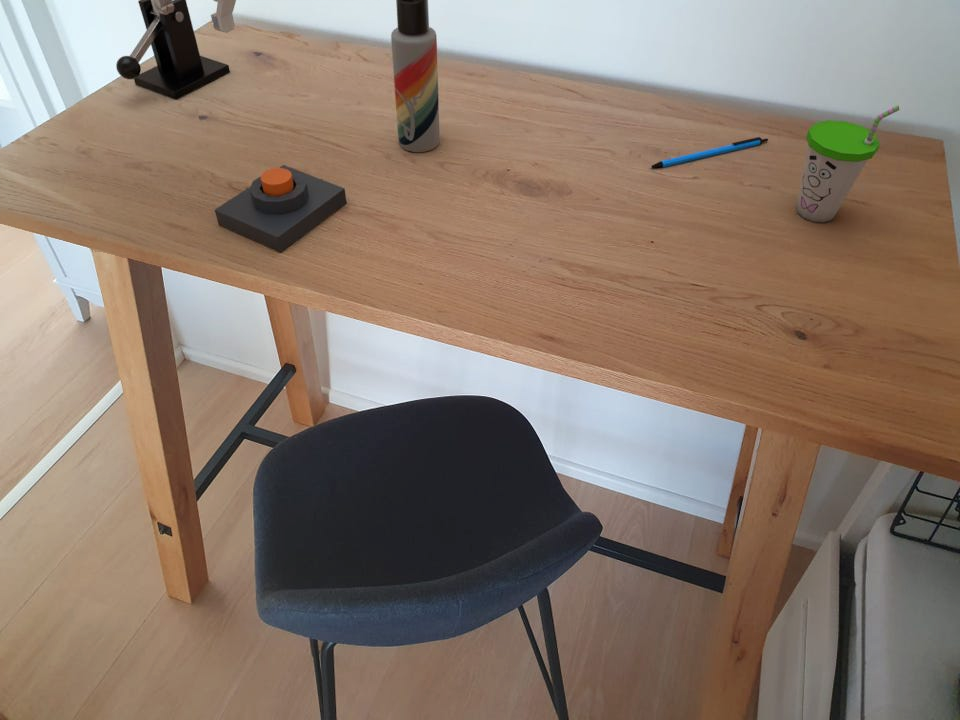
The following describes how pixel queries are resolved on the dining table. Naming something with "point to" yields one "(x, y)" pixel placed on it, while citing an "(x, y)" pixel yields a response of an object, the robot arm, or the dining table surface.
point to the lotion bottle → (415, 77)
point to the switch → (139, 50)
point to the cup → (834, 165)
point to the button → (277, 182)
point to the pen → (710, 152)
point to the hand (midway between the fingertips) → (194, 21)
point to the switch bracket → (177, 55)
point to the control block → (281, 210)
